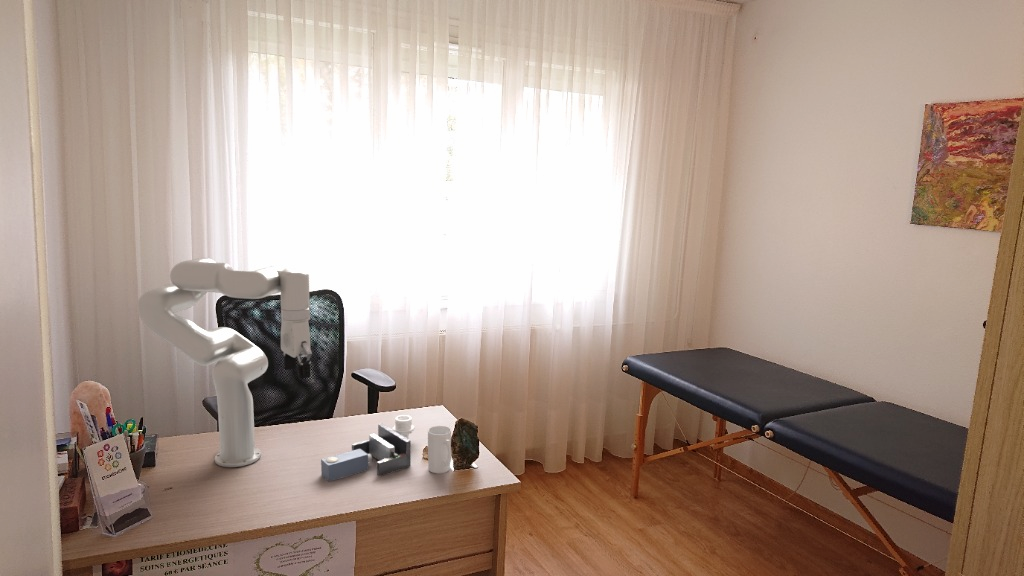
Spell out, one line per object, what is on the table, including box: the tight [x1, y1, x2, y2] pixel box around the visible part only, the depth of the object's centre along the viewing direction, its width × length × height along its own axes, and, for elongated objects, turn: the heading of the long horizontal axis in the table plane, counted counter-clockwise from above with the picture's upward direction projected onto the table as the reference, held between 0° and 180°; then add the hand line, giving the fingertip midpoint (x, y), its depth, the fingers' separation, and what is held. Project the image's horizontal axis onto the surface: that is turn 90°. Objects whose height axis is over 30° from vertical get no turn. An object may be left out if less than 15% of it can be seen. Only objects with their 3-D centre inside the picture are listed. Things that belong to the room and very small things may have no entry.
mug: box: [427, 425, 452, 474], centre depth 189 cm, size 10×7×12 cm, turn 34°
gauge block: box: [320, 449, 373, 483], centre depth 188 cm, size 5×14×5 cm, turn 130°
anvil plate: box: [368, 433, 398, 461], centre depth 193 cm, size 2×15×6 cm, turn 41°
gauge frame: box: [351, 423, 412, 477], centre depth 194 cm, size 10×16×8 cm, turn 41°
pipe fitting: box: [391, 414, 415, 440], centre depth 208 cm, size 6×7×8 cm
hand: (297, 373), depth 185 cm, fingers open, 9 cm apart
